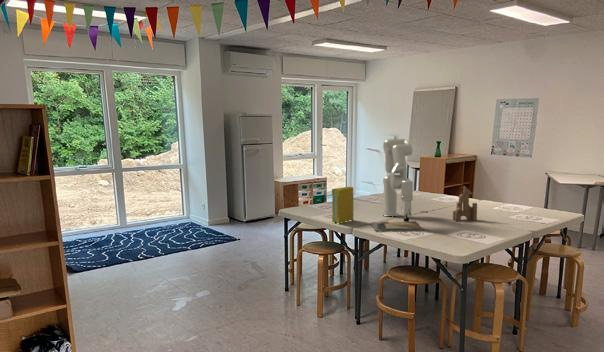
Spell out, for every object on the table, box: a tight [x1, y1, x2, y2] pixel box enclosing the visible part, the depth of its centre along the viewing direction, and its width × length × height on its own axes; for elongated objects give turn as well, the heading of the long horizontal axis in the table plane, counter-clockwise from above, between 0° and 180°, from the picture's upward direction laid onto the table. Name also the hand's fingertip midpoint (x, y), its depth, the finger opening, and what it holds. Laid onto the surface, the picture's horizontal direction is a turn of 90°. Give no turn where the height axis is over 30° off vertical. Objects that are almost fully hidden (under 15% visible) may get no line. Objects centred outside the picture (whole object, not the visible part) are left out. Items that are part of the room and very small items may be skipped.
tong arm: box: [377, 220, 418, 225], centre depth 275 cm, size 6×27×4 cm, turn 92°
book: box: [331, 186, 354, 224], centre depth 298 cm, size 17×7×25 cm, turn 126°
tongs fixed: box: [377, 222, 420, 230], centre depth 273 cm, size 5×27×4 cm, turn 90°
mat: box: [370, 222, 425, 232], centre depth 280 cm, size 22×32×1 cm
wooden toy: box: [452, 185, 478, 222], centre depth 295 cm, size 16×7×25 cm, turn 90°
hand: (406, 224), depth 280 cm, fingers closed
